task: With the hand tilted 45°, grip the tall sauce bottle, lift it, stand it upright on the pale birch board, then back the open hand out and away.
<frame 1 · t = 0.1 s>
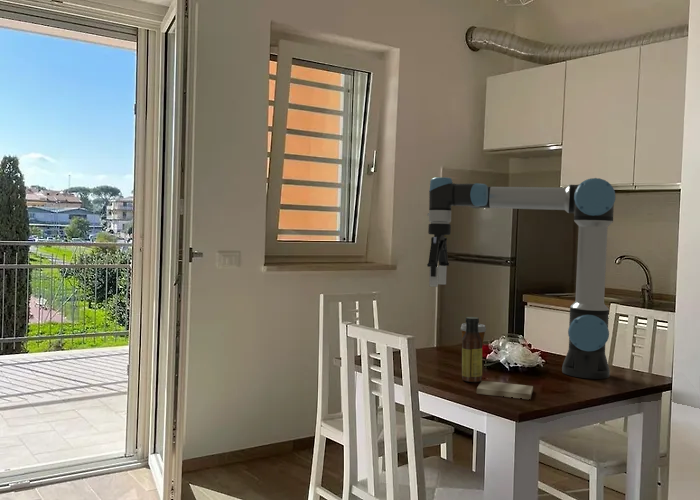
hand: (437, 285, 227), 28 cm above the table, tool pointing down, fingers open, 13 cm apart
disposable coffee cup: (472, 357, 249), on the table
birch board: (505, 392, 195), on the table
sauce bottle: (471, 381, 208), on the table
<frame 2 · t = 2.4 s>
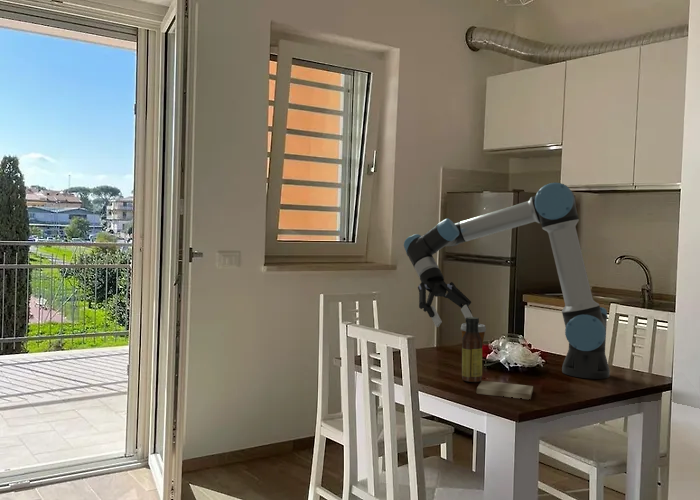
hand: (455, 323, 214), 17 cm above the table, tool tilted 45°, fingers open, 13 cm apart
nothing on the table moved.
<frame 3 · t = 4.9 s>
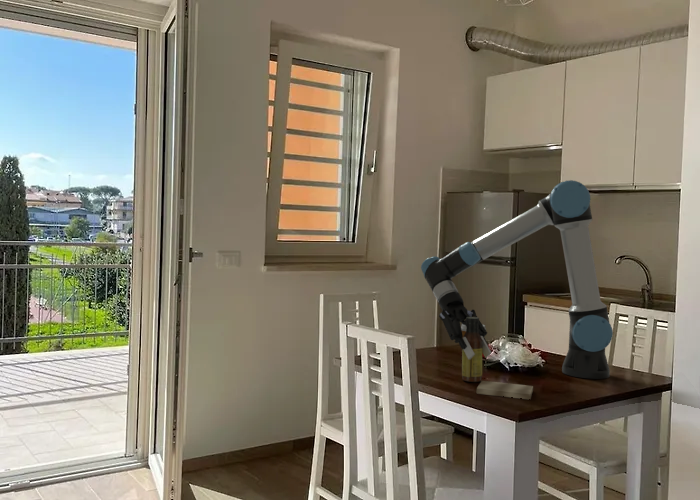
hand: (480, 356, 205), 8 cm above the table, tool tilted 45°, fingers closed on sauce bottle, 6 cm apart
sauce bottle: (471, 381, 208), on the table, touching gripper
everything else where it was.
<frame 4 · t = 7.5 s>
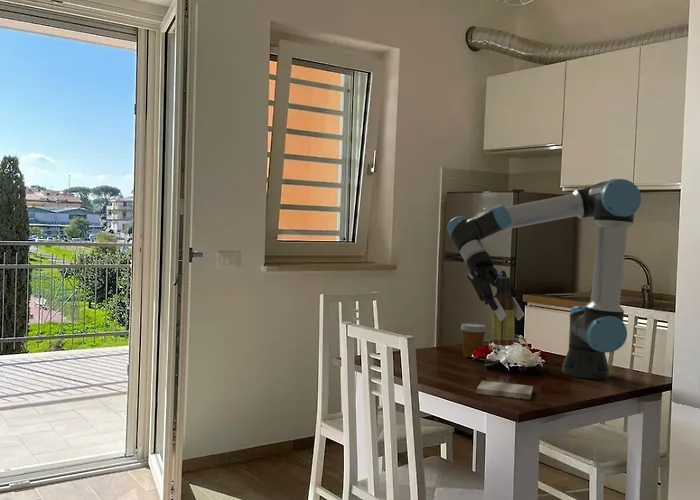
hand: (512, 317, 192), 22 cm above the table, tool tilted 45°, fingers closed on sauce bottle, 6 cm apart
sauce bottle: (502, 345, 196), point 14 cm above the table, touching gripper
everything else where it was.
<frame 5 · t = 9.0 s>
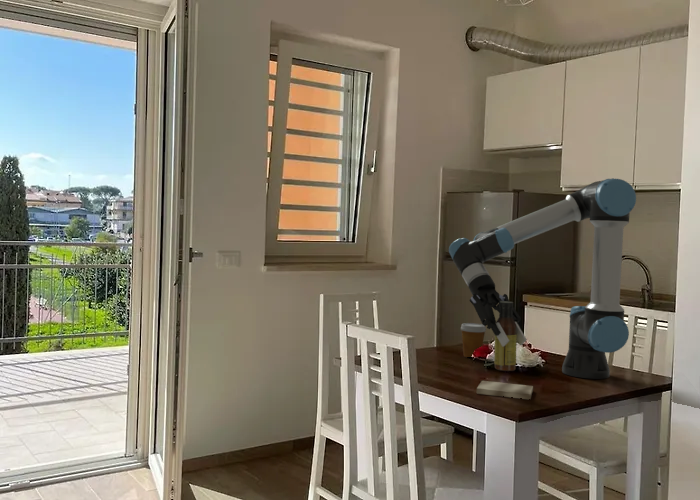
hand: (514, 343, 191), 15 cm above the table, tool tilted 45°, fingers closed on sauce bottle, 6 cm apart
sauce bottle: (504, 370, 195), point 6 cm above the table, touching gripper
everything else where it was.
when the fingers open (11 cm above the table, at t = 10.1 s): sauce bottle drops 1 cm, resting on birch board.
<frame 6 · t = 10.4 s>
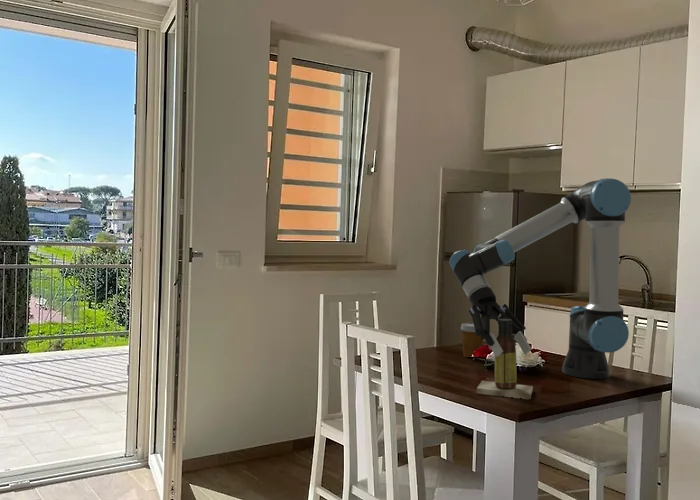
hand: (514, 353, 192), 12 cm above the table, tool tilted 45°, fingers open, 10 cm apart
sauce bottle: (504, 387, 195), point 1 cm above the table, touching birch board
everything else where it was.
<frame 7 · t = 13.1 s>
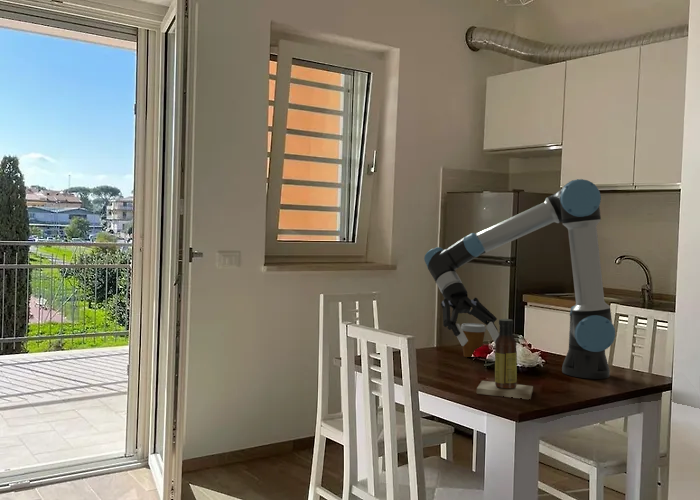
hand: (482, 342, 204), 13 cm above the table, tool tilted 45°, fingers open, 13 cm apart
nothing on the table moved.
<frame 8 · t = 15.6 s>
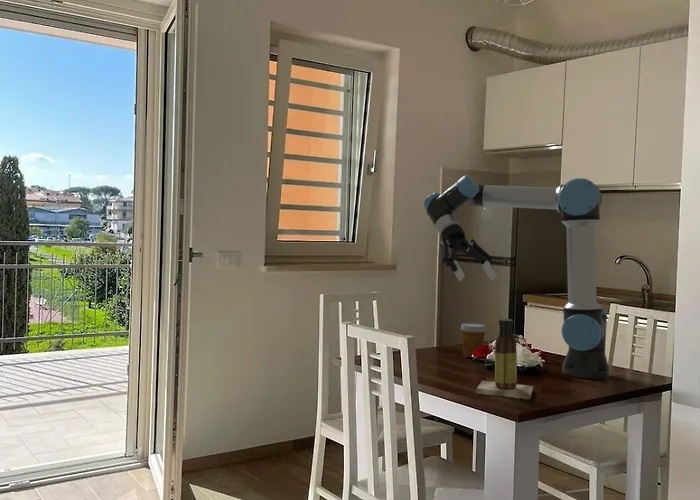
hand: (478, 278, 214), 32 cm above the table, tool tilted 45°, fingers open, 13 cm apart
nothing on the table moved.
at the end: sauce bottle inside the target area on the birch board (0.1 cm from its centre), point 1.3 cm above the birch board's base; sauce bottle tilted 0°; the gripper is holding nothing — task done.
